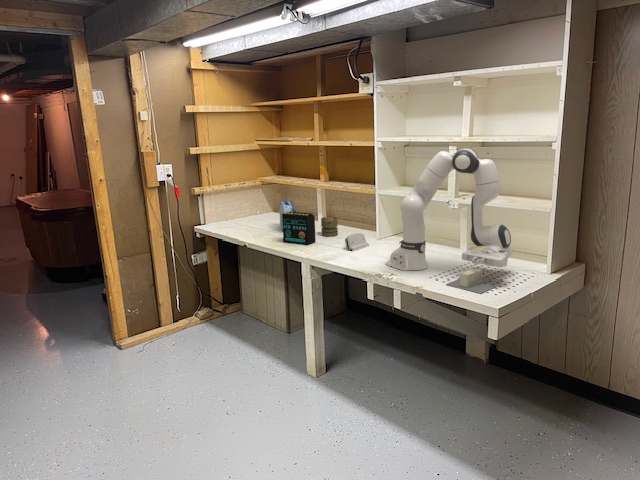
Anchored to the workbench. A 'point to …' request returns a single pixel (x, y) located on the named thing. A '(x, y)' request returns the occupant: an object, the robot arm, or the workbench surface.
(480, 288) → the mat
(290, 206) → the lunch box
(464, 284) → the skincare box
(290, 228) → the battery
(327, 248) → the workbench surface
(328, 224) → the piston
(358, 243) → the hinge
